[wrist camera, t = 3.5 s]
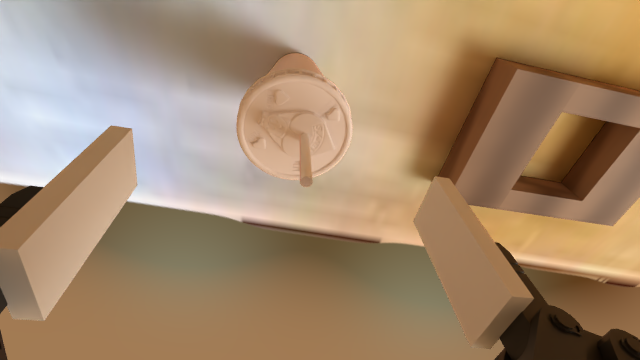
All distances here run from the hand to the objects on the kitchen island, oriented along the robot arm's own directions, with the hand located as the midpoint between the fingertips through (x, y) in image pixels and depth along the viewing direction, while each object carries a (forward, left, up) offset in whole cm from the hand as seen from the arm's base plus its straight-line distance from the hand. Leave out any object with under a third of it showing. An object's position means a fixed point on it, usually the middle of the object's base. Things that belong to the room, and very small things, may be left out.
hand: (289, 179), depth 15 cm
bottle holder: (+18, +16, -14) cm, 28 cm away
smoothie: (0, 0, -14) cm, 14 cm away
